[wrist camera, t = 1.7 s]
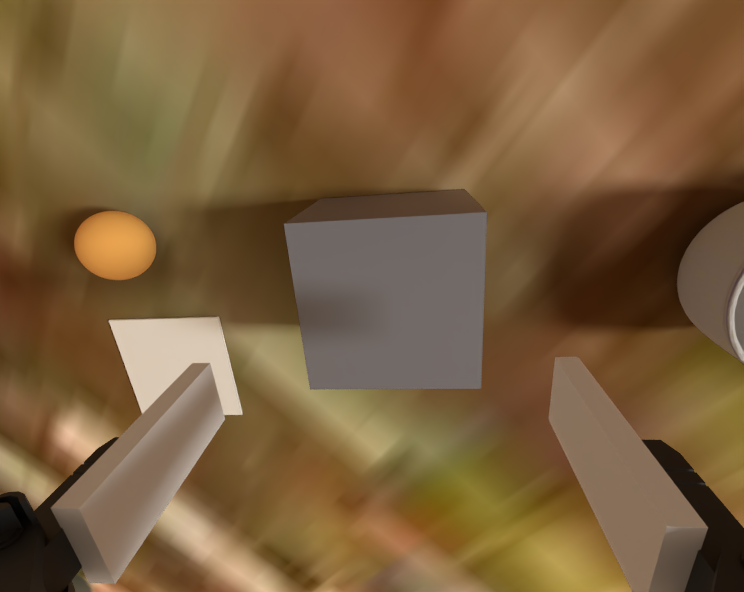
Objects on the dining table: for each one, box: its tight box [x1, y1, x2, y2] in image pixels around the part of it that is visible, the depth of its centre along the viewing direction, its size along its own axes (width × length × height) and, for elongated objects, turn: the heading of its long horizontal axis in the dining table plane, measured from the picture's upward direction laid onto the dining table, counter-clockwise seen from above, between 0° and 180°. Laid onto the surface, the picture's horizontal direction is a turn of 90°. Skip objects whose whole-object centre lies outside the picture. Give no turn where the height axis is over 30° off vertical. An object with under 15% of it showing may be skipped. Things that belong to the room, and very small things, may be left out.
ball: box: [74, 211, 156, 280], centre depth 28 cm, size 5×5×5 cm
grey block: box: [284, 189, 487, 389], centre depth 25 cm, size 10×10×9 cm
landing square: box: [109, 316, 243, 415], centre depth 35 cm, size 10×10×1 cm
